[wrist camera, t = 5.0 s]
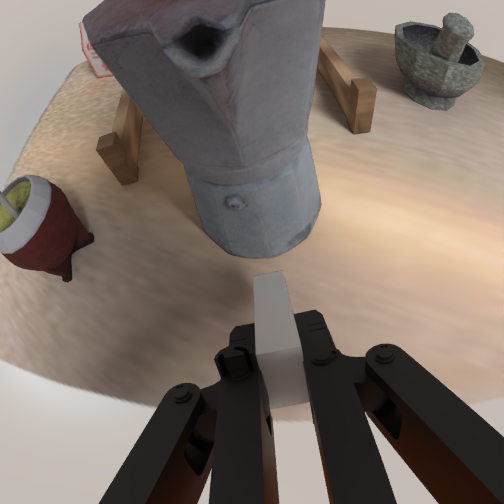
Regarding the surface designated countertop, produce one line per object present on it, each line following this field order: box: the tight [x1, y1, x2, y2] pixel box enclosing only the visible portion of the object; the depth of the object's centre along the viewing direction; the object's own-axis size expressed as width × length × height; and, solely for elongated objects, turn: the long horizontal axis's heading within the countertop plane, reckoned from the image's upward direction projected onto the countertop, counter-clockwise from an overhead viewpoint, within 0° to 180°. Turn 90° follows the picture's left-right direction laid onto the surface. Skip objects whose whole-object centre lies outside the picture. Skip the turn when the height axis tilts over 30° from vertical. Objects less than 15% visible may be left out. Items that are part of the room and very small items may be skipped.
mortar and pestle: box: [395, 13, 486, 111], centre depth 22 cm, size 11×9×12 cm
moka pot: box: [82, 0, 325, 258], centre depth 15 cm, size 10×15×20 cm, turn 12°
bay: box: [96, 35, 377, 185], centre depth 28 cm, size 17×23×5 cm
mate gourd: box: [0, 175, 94, 282], centre depth 18 cm, size 8×8×15 cm
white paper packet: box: [79, 22, 113, 78], centre depth 34 cm, size 4×7×10 cm, turn 70°
